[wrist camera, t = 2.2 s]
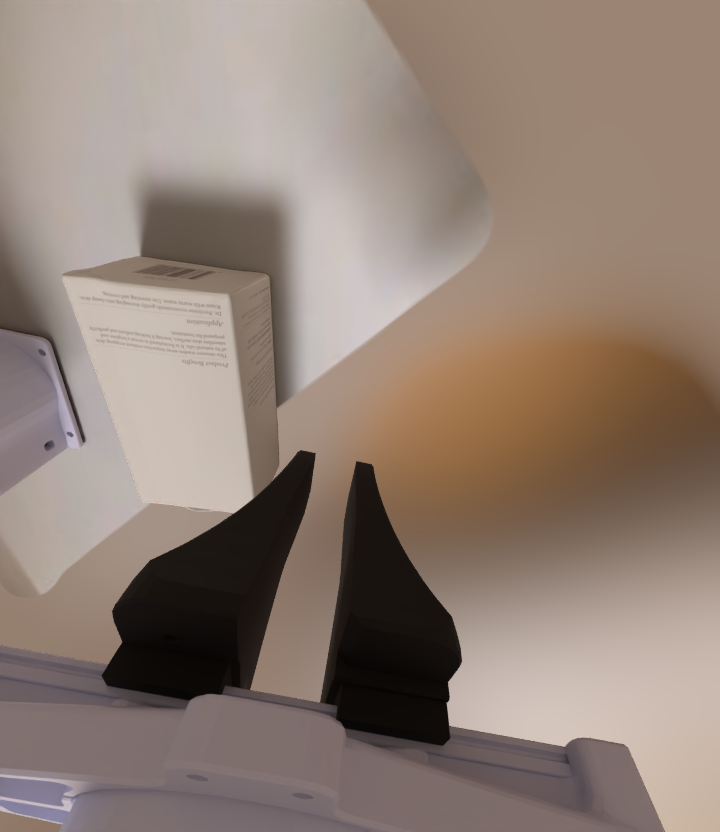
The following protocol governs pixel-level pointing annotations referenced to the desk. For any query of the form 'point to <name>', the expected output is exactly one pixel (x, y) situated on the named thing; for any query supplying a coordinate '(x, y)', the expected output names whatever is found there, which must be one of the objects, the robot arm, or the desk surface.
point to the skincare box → (184, 376)
